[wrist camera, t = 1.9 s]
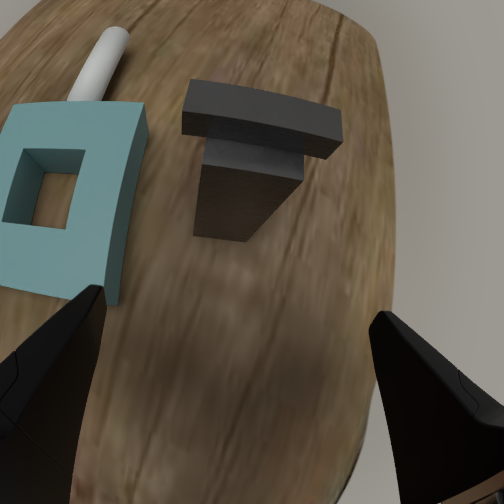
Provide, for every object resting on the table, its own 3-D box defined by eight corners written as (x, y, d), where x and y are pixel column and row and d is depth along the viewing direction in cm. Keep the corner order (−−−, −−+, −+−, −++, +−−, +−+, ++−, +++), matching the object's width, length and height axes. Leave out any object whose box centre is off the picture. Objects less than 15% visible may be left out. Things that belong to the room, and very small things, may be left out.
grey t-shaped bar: (258, 243, 24) (344, 169, 10) (179, 234, 22) (175, 139, 9) (262, 195, 24) (338, 89, 11) (187, 184, 23) (196, 58, 10)
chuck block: (117, 305, 20) (101, 305, 16) (-7, 281, 18) (-37, 275, 14) (173, 56, 25) (175, 23, 21) (69, 55, 23) (60, 27, 19)
